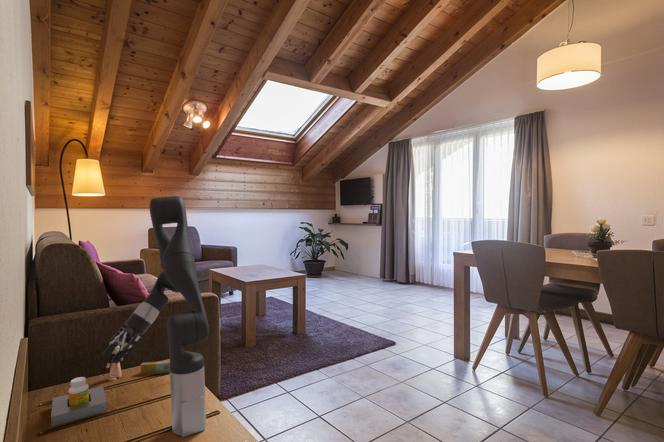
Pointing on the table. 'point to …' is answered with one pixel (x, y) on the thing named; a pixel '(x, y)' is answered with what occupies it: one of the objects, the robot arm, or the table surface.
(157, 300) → the robot arm
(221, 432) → the table surface
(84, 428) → the table surface
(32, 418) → the table surface
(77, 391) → the supplement bottle
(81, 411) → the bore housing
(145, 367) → the medication box
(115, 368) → the grandmother figurine
